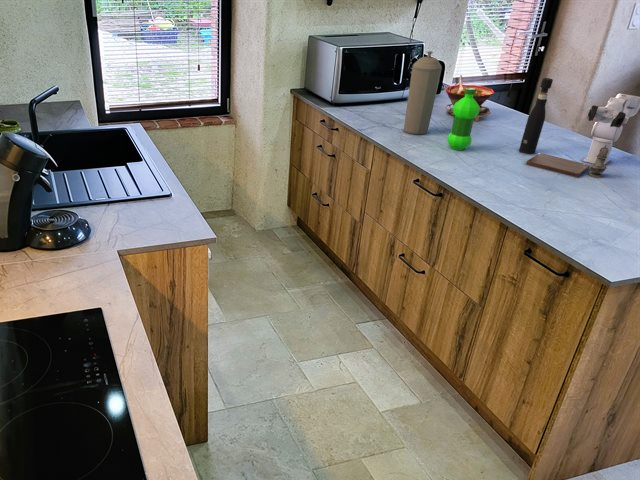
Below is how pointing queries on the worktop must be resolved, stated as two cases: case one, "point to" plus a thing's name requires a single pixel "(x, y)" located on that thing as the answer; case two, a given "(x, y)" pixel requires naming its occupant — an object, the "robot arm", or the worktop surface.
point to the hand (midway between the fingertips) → (601, 121)
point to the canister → (422, 94)
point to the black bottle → (535, 120)
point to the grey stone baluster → (599, 163)
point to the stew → (480, 97)
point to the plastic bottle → (463, 120)
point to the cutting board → (558, 165)
